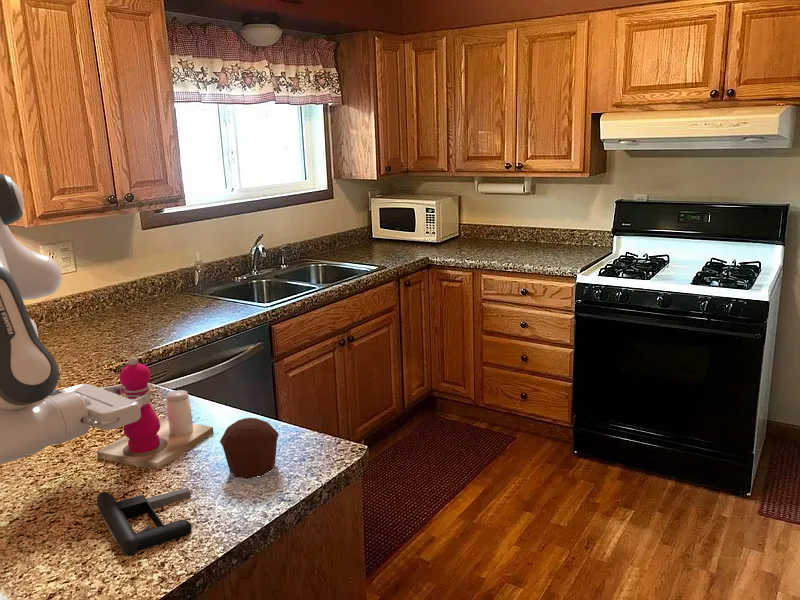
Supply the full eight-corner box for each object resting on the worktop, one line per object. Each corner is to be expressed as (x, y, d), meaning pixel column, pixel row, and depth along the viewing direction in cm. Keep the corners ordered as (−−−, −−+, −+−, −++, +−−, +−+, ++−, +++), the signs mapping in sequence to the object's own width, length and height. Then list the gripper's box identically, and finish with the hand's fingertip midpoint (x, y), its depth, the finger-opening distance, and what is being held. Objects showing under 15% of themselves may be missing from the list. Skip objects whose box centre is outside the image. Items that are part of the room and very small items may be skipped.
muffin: (293, 464, 134) (289, 419, 131) (250, 488, 125) (245, 439, 123) (254, 449, 141) (250, 406, 138) (211, 471, 132) (206, 424, 130)
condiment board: (97, 458, 139) (96, 451, 139) (157, 423, 156) (157, 417, 155) (157, 469, 134) (156, 462, 133) (213, 433, 150) (212, 426, 149)
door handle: (177, 471, 128) (87, 494, 119) (215, 516, 113) (115, 547, 103) (178, 487, 129) (89, 511, 120) (216, 533, 113) (117, 566, 104)
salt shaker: (165, 434, 146) (160, 396, 144) (180, 425, 151) (175, 388, 148) (183, 437, 144) (178, 399, 142) (198, 428, 149) (193, 391, 147)
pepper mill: (166, 438, 144) (156, 351, 139) (156, 453, 137) (144, 362, 132) (133, 439, 144) (121, 352, 139) (121, 455, 137) (108, 363, 132)
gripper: (95, 412, 119) (162, 388, 130) (41, 390, 131) (107, 369, 142) (100, 444, 121) (166, 418, 131) (46, 419, 133) (111, 397, 144)
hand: (135, 392), depth 137 cm, fingers open, 8 cm apart
